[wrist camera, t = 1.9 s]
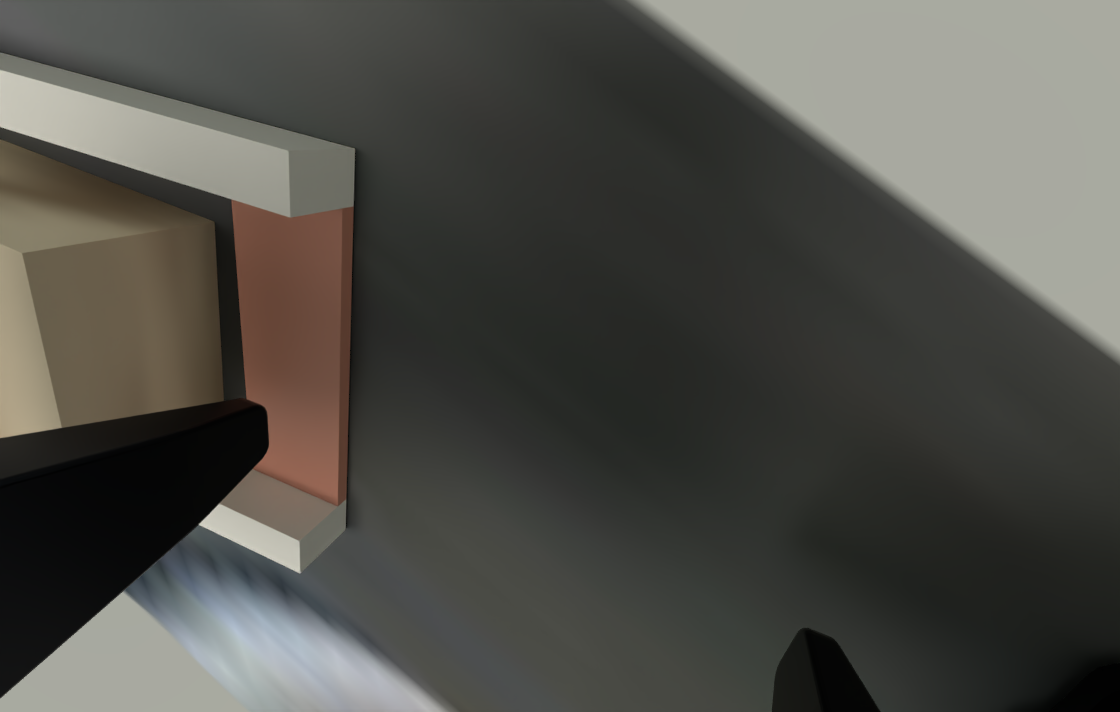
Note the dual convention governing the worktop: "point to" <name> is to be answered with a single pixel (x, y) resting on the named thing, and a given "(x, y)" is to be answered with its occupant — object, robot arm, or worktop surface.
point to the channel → (243, 277)
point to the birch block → (100, 300)
